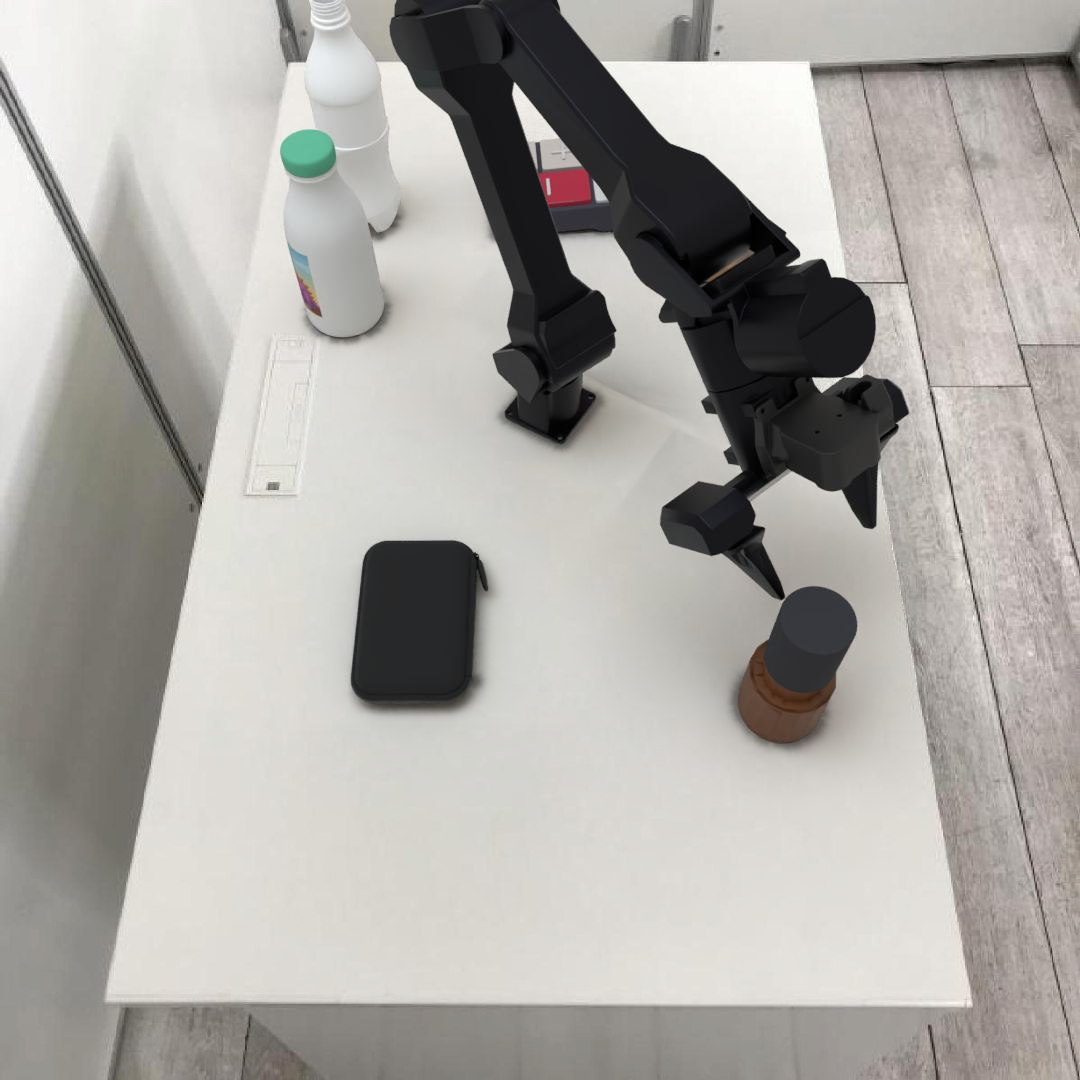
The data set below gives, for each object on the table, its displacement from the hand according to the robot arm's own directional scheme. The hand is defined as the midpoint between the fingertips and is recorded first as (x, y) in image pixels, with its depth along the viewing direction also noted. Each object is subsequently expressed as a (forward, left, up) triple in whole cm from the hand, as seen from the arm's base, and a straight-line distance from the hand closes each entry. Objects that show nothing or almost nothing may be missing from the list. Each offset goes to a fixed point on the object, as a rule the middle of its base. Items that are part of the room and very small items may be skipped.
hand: (825, 562), depth 77 cm
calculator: (+35, +44, -13) cm, 57 cm away
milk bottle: (+10, +54, -13) cm, 56 cm away
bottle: (-6, -1, -13) cm, 14 cm away
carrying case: (-15, +27, -13) cm, 33 cm away
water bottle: (+22, +60, -13) cm, 65 cm away
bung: (-6, -2, -6) cm, 8 cm away
